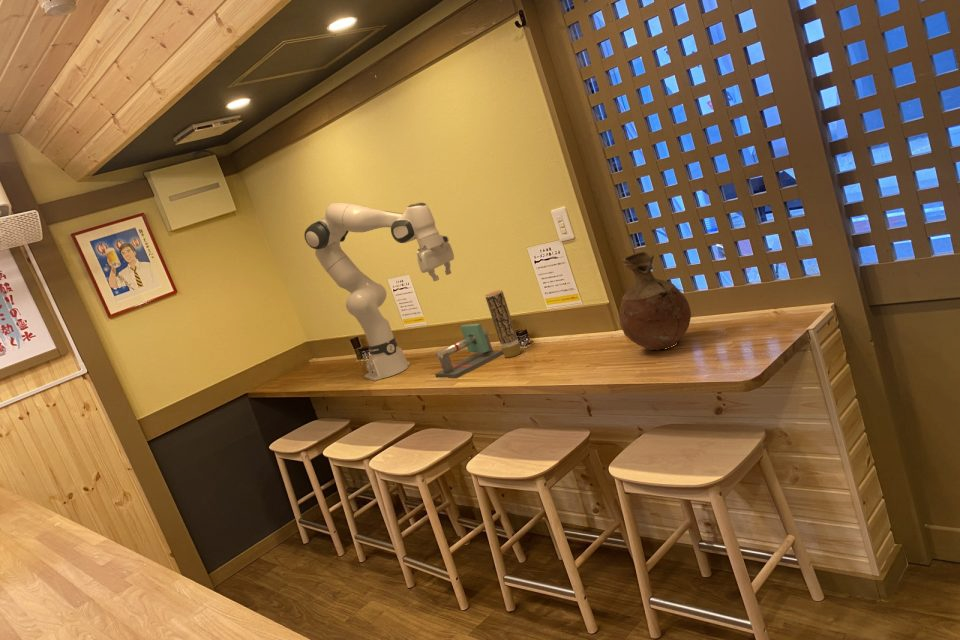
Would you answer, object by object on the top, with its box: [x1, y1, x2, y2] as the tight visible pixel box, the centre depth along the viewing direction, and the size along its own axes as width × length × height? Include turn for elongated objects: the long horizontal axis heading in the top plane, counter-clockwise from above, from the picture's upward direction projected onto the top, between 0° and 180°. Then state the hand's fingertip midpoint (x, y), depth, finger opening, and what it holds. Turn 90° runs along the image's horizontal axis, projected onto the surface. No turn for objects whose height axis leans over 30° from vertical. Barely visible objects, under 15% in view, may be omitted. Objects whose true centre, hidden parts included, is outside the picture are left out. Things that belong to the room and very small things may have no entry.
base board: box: [434, 349, 504, 379], centre depth 280 cm, size 14×24×2 cm, turn 128°
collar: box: [460, 323, 489, 354], centre depth 282 cm, size 11×2×11 cm, turn 38°
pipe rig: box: [436, 328, 494, 373], centre depth 280 cm, size 4×24×9 cm, turn 128°
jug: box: [619, 251, 692, 351], centre depth 224 cm, size 22×22×30 cm
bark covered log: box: [484, 289, 522, 359], centre depth 273 cm, size 7×7×25 cm
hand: (442, 277), depth 280 cm, fingers open, 8 cm apart
